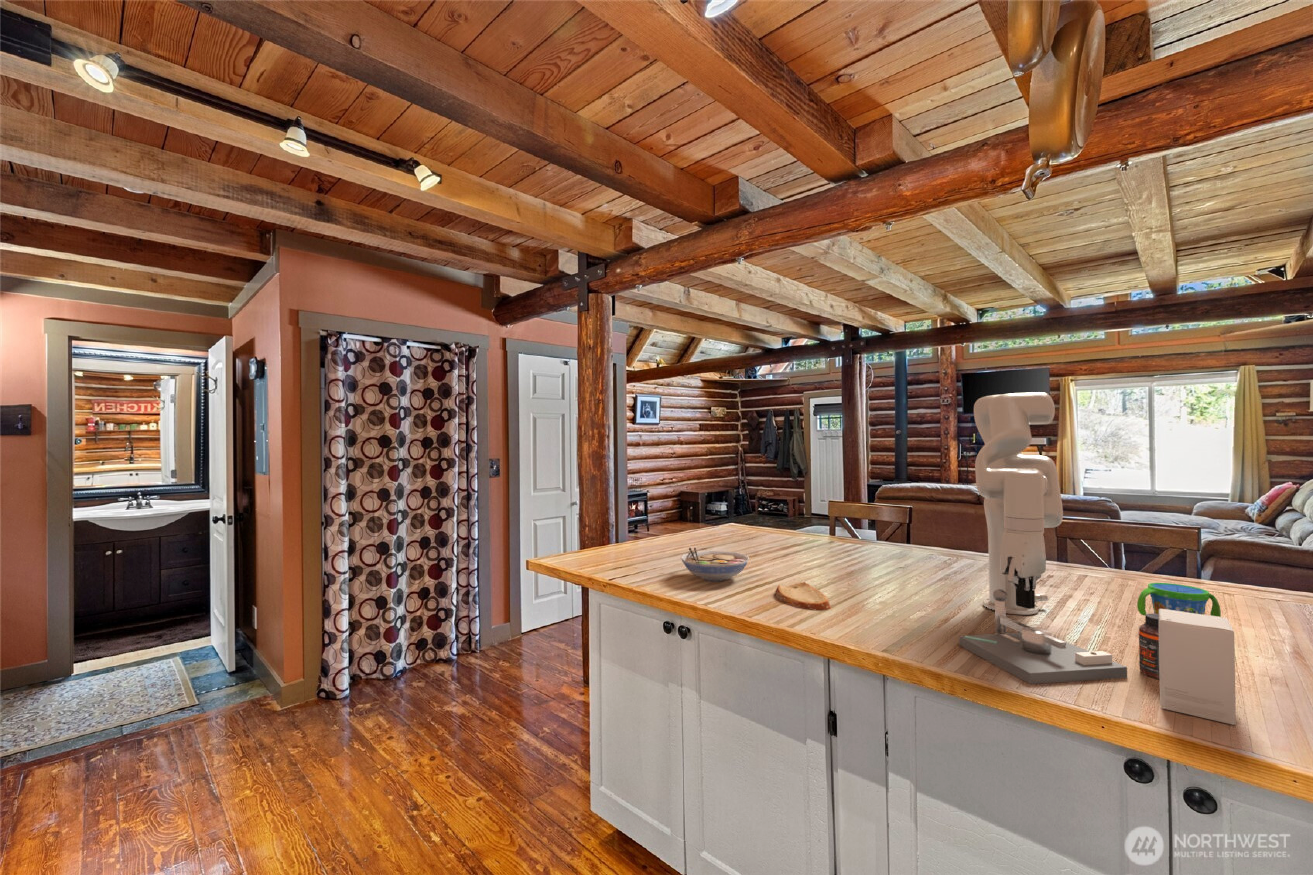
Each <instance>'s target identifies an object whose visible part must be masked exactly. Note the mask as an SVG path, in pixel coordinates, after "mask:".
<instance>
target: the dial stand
mask: <svg viewBox="0 0 1313 875" xmlns="http://www.w3.org/2000/svg"><path fill="white" fill-rule="evenodd" d="M1051 636H1052V637H1054V638H1057V639H1059V640H1061V641H1064V642H1066V649H1059V648H1057V647H1055V646H1052V645H1051V651H1052V652H1051V653H1046V654H1043V653H1035V652H1031V651H1028V650H1025V649H1024V648H1022V633H1021V632H1011V633H1007V632H1006V634H999V633H992V634H989V633H988V634H976V635H975V634H973V635H958V642H959V643H958V644H959V646H960V647H962V648H963V649H966V650H967V651H969V652H971V653H973V654H974V655H977V656H978V657H981V658H982V659H984V660H986V661H988V662H990V664H991V663H992V665H995V666H997V667H999V668H1000V669H1002V670H1004V671H1005V672H1008V673H1010V674H1012V675H1013V676H1015V677H1016V678H1018V679H1021V680H1023V681H1024V682H1025V683H1028V684H1030V685H1037V684H1039V685H1040V684H1052V683H1066V682H1082V681H1083V682H1084V681H1097V680H1112V679H1113V680H1116V679H1128V667H1127V666H1125V665H1123V664H1121V663H1118V662H1116V661H1113V654H1111V653H1109V652H1106V651H1104V650H1099V651H1097V650H1096V651H1095V650H1094V651H1089V650H1087V649H1084V648H1082V647H1080V646H1077V645H1075V644H1073V643H1070V642H1068V641H1065V640H1063V639H1060V638H1058V637H1056V636H1053V635H1051Z"/></svg>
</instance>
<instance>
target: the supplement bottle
mask: <svg viewBox="0 0 1313 875" xmlns="http://www.w3.org/2000/svg"><path fill="white" fill-rule="evenodd" d="M1144 621H1145V622H1144V623H1143V624H1141V625H1140V626H1139V628H1138V643H1139V644H1138V645H1139V646H1138V647H1139V648H1138V649H1139V650H1138V656H1139V657H1138V658H1139V660H1138V664H1139V670H1140V672H1141V673H1142V674H1144V675H1145V676H1147V677H1150V678H1152V679H1155V680H1159V614H1154V612H1151V613H1146V615H1145V619H1144Z"/></svg>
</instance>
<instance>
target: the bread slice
mask: <svg viewBox="0 0 1313 875" xmlns="http://www.w3.org/2000/svg"><path fill="white" fill-rule="evenodd" d="M774 594H775V596H776V598H777V599H778V600H780V601H781V602H784V603H786V602H787V603H786V604H788V605H790V606H795V607H796V606H797V607H796V608H802V609H805V610H811V609H816V610H815V611H828V610H831V609H832V607H831V604H830V601H829V599H828V597H827V596H826V595H825V594H824V593H823V592H821V591H820V590H819V589H817V588H815V587H814V586H812V585H810V584H809V583H806V581H804V582H800V583H799V582H798V583H795V584H792V585H788V586H783V585H780V584H779V585H778V586H777V587H776V589H775V592H774Z"/></svg>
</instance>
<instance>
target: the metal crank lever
mask: <svg viewBox="0 0 1313 875" xmlns="http://www.w3.org/2000/svg"><path fill="white" fill-rule="evenodd" d="M1007 597H1008V596H1007V593H1006V592H1005V591H1004V590H1002V589H997V590H995V591H994V592H993V598H994V599H995V612H994V617H995V619H994V621H995V622H994V624H995V626H994V627H995V634H1007V628H1010V629H1012V630H1014V631H1016V632H1018V633H1022V648H1024V649H1025V650H1028V651H1031V652H1035V653H1043V654H1046V653H1051V652H1052V651H1051V645H1052V646H1055V647H1057V648H1059V649H1066V642H1067V641H1065V640H1063V641H1061V640H1062V639H1061V640H1059V639H1060V638H1058V637H1056V638H1054V637H1055V636H1053V635H1052V633H1051V631H1048V630H1047V629H1043V628H1039V627H1031V626H1029V625H1026V624H1025V623H1022V622H1019V621H1018V620H1014V619H1012V618H1010V617H1008V616H1007V613H1006V600H1007ZM1052 636H1053V637H1052ZM1057 638H1058V639H1057ZM1064 641H1065V642H1064Z"/></svg>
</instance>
